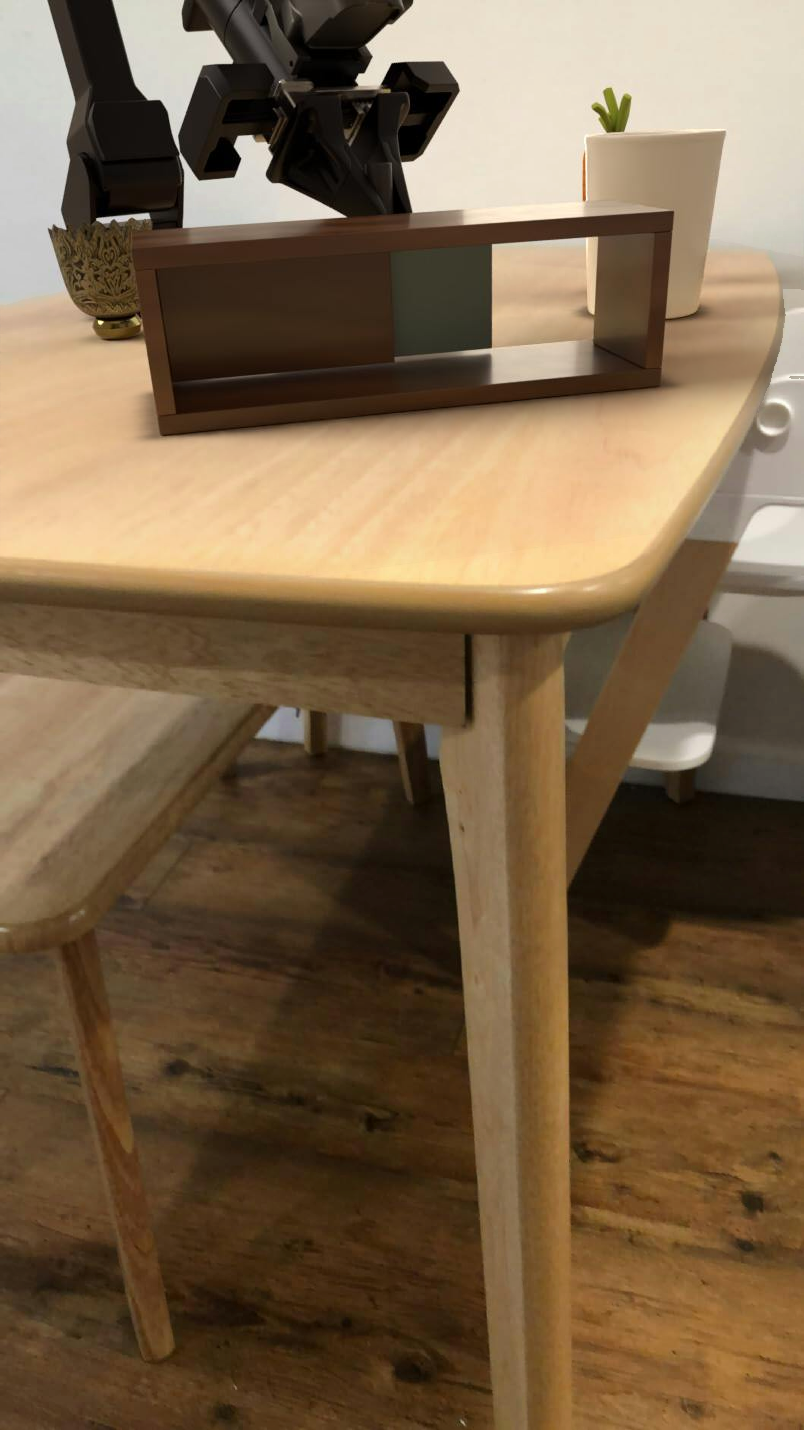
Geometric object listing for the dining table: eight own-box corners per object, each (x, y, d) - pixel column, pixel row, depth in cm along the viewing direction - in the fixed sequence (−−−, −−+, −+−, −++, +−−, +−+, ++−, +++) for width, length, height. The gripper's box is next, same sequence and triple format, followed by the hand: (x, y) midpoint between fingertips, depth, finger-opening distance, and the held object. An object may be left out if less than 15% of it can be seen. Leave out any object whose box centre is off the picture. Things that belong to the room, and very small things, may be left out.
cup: (64, 334, 82) (42, 222, 78) (158, 324, 84) (141, 214, 80) (76, 349, 76) (52, 229, 72) (176, 338, 78) (159, 221, 74)
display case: (157, 395, 62) (130, 230, 58) (597, 354, 67) (605, 199, 63) (160, 435, 54) (130, 247, 50) (660, 386, 59) (674, 210, 55)
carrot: (635, 292, 88) (649, 84, 81) (576, 293, 89) (583, 88, 82) (636, 283, 92) (649, 85, 85) (579, 284, 93) (587, 88, 86)
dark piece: (266, 351, 67) (247, 169, 61) (468, 333, 69) (466, 156, 64) (276, 367, 62) (256, 173, 57) (492, 348, 64) (492, 159, 59)
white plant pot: (556, 307, 83) (561, 135, 77) (665, 296, 85) (679, 128, 79) (615, 327, 75) (626, 136, 69) (734, 314, 77) (755, 128, 71)
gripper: (174, -124, 53) (333, 122, 51) (434, -95, 63) (572, 108, 62) (120, 69, 61) (254, 283, 60) (356, 66, 72) (475, 247, 71)
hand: (396, 226), depth 63 cm, fingers closed on dark piece, 2 cm apart
